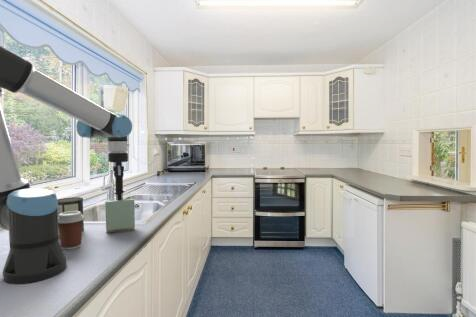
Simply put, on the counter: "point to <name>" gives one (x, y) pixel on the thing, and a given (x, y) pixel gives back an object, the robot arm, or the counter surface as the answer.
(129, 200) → the green square panel
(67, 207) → the coffee can
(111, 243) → the counter surface
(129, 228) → the brown rectangular block
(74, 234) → the coffee cup
